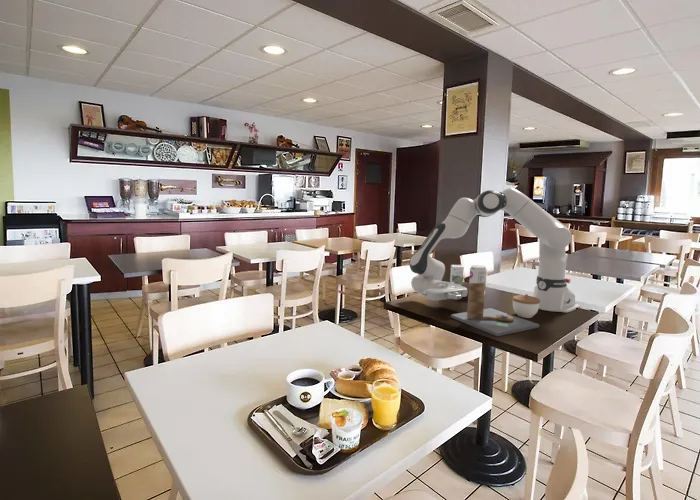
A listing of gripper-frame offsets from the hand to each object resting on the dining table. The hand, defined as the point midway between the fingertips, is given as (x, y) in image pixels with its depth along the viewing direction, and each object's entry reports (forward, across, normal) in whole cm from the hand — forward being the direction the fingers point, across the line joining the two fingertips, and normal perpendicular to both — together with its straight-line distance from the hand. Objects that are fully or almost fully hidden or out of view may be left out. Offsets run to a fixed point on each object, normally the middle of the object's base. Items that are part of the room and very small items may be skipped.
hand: (458, 297), depth 174 cm
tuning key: (+13, +5, +6) cm, 15 cm away
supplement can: (-22, +33, +8) cm, 41 cm away
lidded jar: (+13, +26, +8) cm, 30 cm away
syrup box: (-31, +27, +8) cm, 42 cm away
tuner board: (+13, +7, +8) cm, 17 cm away
